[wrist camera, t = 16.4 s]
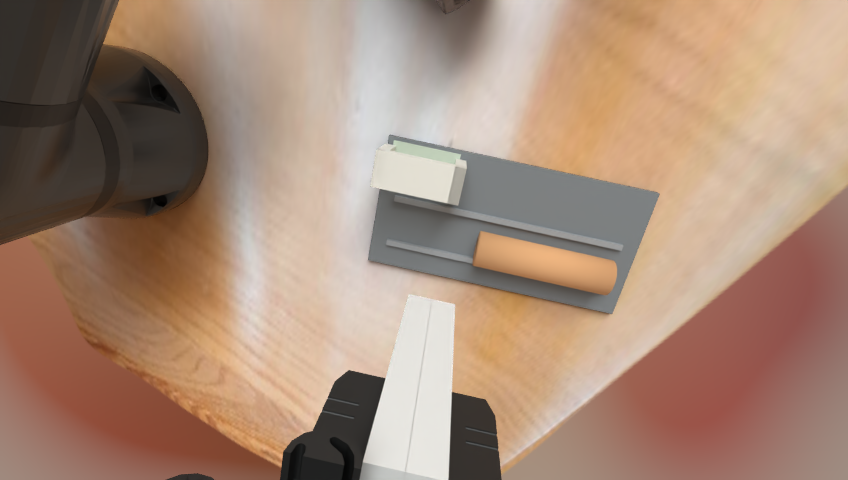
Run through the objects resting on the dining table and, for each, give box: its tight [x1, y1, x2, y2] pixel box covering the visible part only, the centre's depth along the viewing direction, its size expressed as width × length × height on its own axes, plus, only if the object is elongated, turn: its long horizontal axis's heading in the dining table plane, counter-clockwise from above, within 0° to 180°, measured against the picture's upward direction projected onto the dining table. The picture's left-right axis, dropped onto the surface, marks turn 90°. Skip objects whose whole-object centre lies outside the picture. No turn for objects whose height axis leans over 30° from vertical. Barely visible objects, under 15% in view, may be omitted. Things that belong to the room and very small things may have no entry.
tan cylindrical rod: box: [473, 231, 617, 295], centre depth 38 cm, size 12×3×3 cm, turn 78°
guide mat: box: [368, 135, 659, 314], centre depth 39 cm, size 24×12×1 cm, turn 79°
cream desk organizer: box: [370, 144, 467, 206], centre depth 36 cm, size 3×7×4 cm, turn 79°
